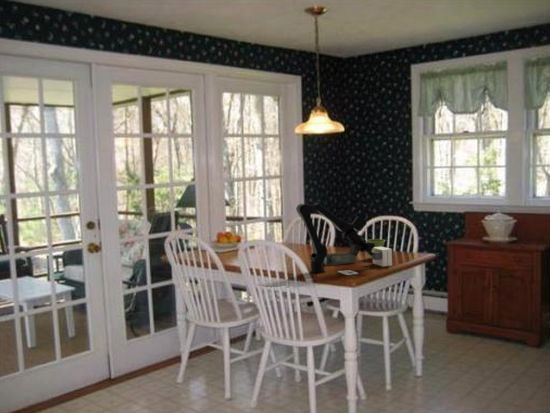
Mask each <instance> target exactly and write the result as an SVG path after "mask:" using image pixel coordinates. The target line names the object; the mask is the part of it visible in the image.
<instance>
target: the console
mask: <svg viewBox="0 0 550 413" xmlns="http://www.w3.org/2000/svg"><path fill="white" fill-rule="evenodd" d="M372 250H375V251H377V252H382V259H380V260H374V259H372V265H376V266H377V265H378V266H380V267H390V266H393V251H392V250H393V249H392V248H389V247H385V246H384V247H374V248H373V249H372Z"/></svg>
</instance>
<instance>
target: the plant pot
mask: <svg viewBox="0 0 550 413" xmlns="http://www.w3.org/2000/svg"><path fill="white" fill-rule="evenodd" d="M365 240H366V242H367V243H368V242H373V243H374V244H375V247H385V246H384V245H385V242H386V239H381V238H372V239H371V238H370V239H365ZM371 260H373V259H372V258H371Z"/></svg>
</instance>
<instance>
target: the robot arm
mask: <svg viewBox="0 0 550 413" xmlns="http://www.w3.org/2000/svg"><path fill="white" fill-rule="evenodd" d="M295 209H296V212H297V214H298V216H299V217H300V219H301V220H302V221H303V223H304V226H305V228H306V231H307V233H308V236H309V239H310V240H311V244H312V251H313V252H312V253H311V255H310V256H309V258H310V269H311V270H309V272H310V273H314V274H321V273H326V270H325V264H324V263H323V262H324V259H325V257H326V256H327V254H328V248H327V247H326V244H325V243H323V242H321V240H320V238H319V235H318V233H317V230H316V228H315V225H314V222H313V221H312V216H311V215H312V214H311V213H314V212H318V213H319V215H322V216H323V217H324V218H326V219H327V220H328V221H330V222H331V223H332V224H333V227H335V228H336V230H338V231H339V232H340V231H341V232H343V233H341V235H342V236H341V238H343V239H348V240H349V241H350V248H349V250H348V251H349V254H351V255H353V256H356V257H358V255H359V253H360V252H362V253H365V254H366V255H367V254H369V255H371V256H372V255H373V253H372V249H373V248H374V247H375V244H374V243H373V242H368V243H367V241H366V240H367V239H364V238H363V236H362V235H361V234H359V233H358V232H362V230H363V229H364V228H366V225H367V224H368V223H367V222H366V221H365V220H364V219H362V218H361V217H360V216H356V217H355V219H354V220H353V221H352V222H348V221H346V220H343V219H341V218H339V217H338V216H336V215H335V214H334V213H332V212H331V211H330V210H328V209H327V208H325V207H324V206H323V205H322V204H321V203H318V202H316V203H310V204H309V203H308V204H304V203H299V204H298V205H297V206H296V208H295Z"/></svg>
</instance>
